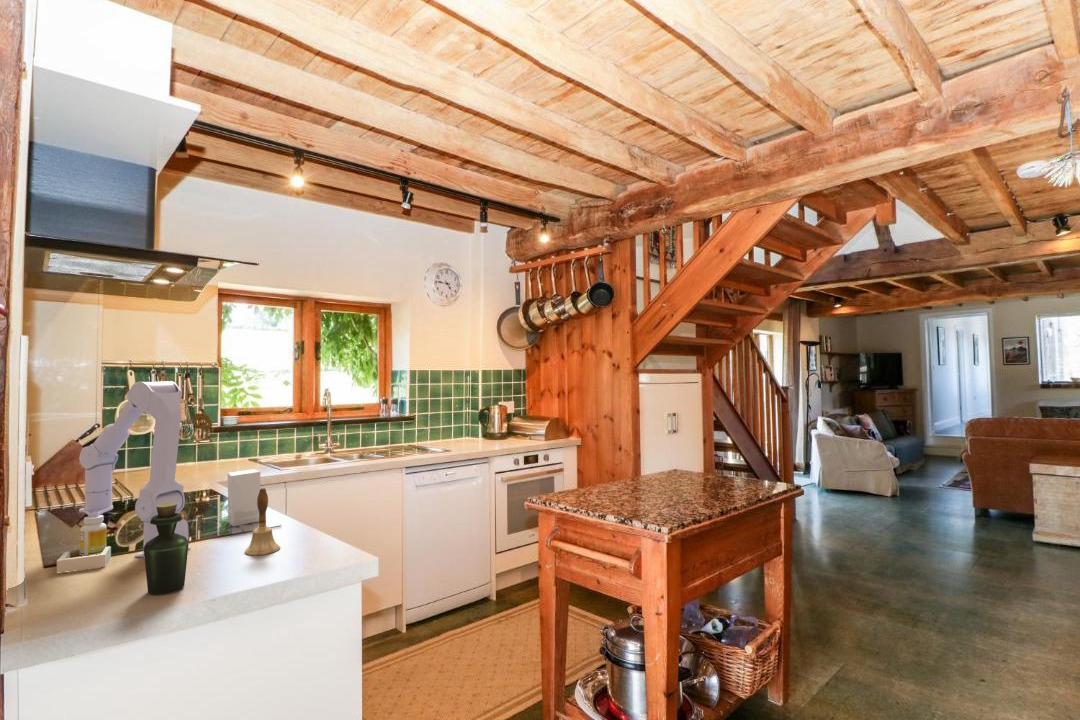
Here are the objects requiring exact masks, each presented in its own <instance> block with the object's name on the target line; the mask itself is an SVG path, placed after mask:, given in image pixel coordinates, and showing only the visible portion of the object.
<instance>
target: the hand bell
mask: <svg viewBox="0 0 1080 720" xmlns="http://www.w3.org/2000/svg"><path fill="white" fill-rule="evenodd" d="M257 506H258V510H259V522H258V526H257V528H255V529H254V530H253V531H252V536H251V540H250V544H249V545H248V546H247V547H246V549H245V551H244V554H245V555H246V554H247V556H264V555H270V554H272V553H275V551H276V552H277V550H278V551H279V550H280V549H281V546H280V545H279V543H277V542H276V541H275V539H274V535H273V530H272V528H271V527H268V526H267V516H266V515H267V514H266V513H267V511H268V510H267V509H268V506H269V496H268V493H267V490H266V488H265V487H263V488H261V487H260V492H259V494H258V498H257Z"/></svg>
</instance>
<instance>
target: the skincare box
mask: <svg viewBox="0 0 1080 720" xmlns="http://www.w3.org/2000/svg"><path fill="white" fill-rule="evenodd" d="M260 489H261V471H259V470H257V469H253V468H252V469H247V470H239V471H234V472H233V471H231V472H230V471H229V472H227V514H228V515H227V518H228V519H227V520H228V521H227V522H228V523H229V524H230V526H232V527H236V526H242V525H247V524H253V523H259V510H258V506H257V498H258V494H259V492H260Z"/></svg>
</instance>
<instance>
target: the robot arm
mask: <svg viewBox="0 0 1080 720" xmlns="http://www.w3.org/2000/svg"><path fill="white" fill-rule="evenodd" d="M126 393H127V394H126V396H127V401H126V403H125V405H124V407H123V408H122V410H121V412H120V414H119V415H118V417H117V418H116V419H115V421H114V423H109V424H107V425H105V426H104V427H103V430H102V431H101V432H100V434H99V435H98V437H97V438H96V439H95V441H94V442H93V443H91V444H90V445H87V446H84V447H83V448H82V449H81V451H80V453H79V458H78V460H79V463H80V465H81V467H82V468H83V469H85V470H84V473H85V475H84V477H85V478H84V484H85V485H84V508H83V507H82V508H79V510H78V512H79V513H84V514H86V517H88V518H92V517H98V516H99V515H103V517H104V520H103V522H102V523H104V524H106V526H107V527H108V525H109V523H110V520H111V519H112V516H113V514H114V513H113V511H112V510H113V509H114V505H113V472H114V471H115V468H116V466H115V465H116V463H117V462H118V459H119V454H118V451H120V449H121V448H122V446H123V445H124V443H125V442H126V441H127V439H128V438H129V437H130V431H129V430H130V428H131V427H132V426H133V424H135V422H137V421H138V419H139V418H140V417H141V415H143V413H146V414H147V415H150V416H151V417H152V418H153V419H154V420H155V421H154V431H153V432H154V433H153V441H152V443H153V444H152V451H151V463H150V472H149V480H148V481H147V483H145V484H144V485H143V486H142V488H141V489H139V494H138V498H137V499H136V502H135V506H134V509H135V510H134V512H135V514H136V516H137V517H138V518H139V520H140V521H141V522H143V547H144V546H145V544H146V543H147V542H148V541H150V540H151V539H153V538H154V537H156V536H158V535H159V534H158V531H157V527H156V525H154V524H150V521H151V519H152V517H153V516H156V515H158V513H157V508H156V506H157V505H159V504H164V503H177V507H176V511H175V513H180V514H181V511H182V510H183V509H184V507H185V504H186V498H185V495H184V494H185V493H184V485H183V484H182V483H180V482H179V481H177V480H176V472H177V471H176V470H177V461H178V450H179V442H180V432H181V431H180V430H181V421H182V409H181V403H182V395H183V394H182V393H183V390H182V389H181V388H180V387H179V386H178V384H177V383H176V382H174V381H173V380H166V381H137V382H135V383H133V384H132V385H131V387H130V389H129V390H128V391H127V392H126ZM174 533H177V534H179V535H182V536H185V537H186V538H187V540H188V541H189V523H188V521H187V520H186V519H184V518H182V520H181V521H179V522H177V525H176V528H175V532H174ZM191 548H192V547H191V546H188V550H191ZM134 557H135V558H144V550H143V551H141V552H139V553H135V554H134Z"/></svg>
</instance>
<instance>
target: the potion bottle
mask: <svg viewBox="0 0 1080 720" xmlns="http://www.w3.org/2000/svg"><path fill="white" fill-rule="evenodd" d="M176 507H177V503H164V504H159V505H157V506H156V508H157V513H158V515H156V516H153V517H152V519H151V521H150V524H154V525H156V527H157V531H158V534H159V535H158V536H156V537H154V538H153V539H151V540H150V541H148V542H147V543H146V544H145V546H144V545H143V551H144V557H143V558H144V565H145V566H144V567H145V576H146V584H147V585H146V586H147V587H146V588H147V593H148V594H149V595H150V596H151V595H152V596H161V595H162V596H164V595H169V594H172V593H176V592H178V591H180V590H182V589H183V588H184V586H185V582H186V581H185V580H186V572H187V564H188V562H187V561H188V553H189V549H188V547H189V546H190V544H189V543H190V541H189V539H188V540H187V538H186V537H185V536H182V535H179V534H177V533H174V532H175V528H176V525H177V522H179V521H181V520H182V519H183V517H182V514H181V512H180V513H175V511H176Z"/></svg>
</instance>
